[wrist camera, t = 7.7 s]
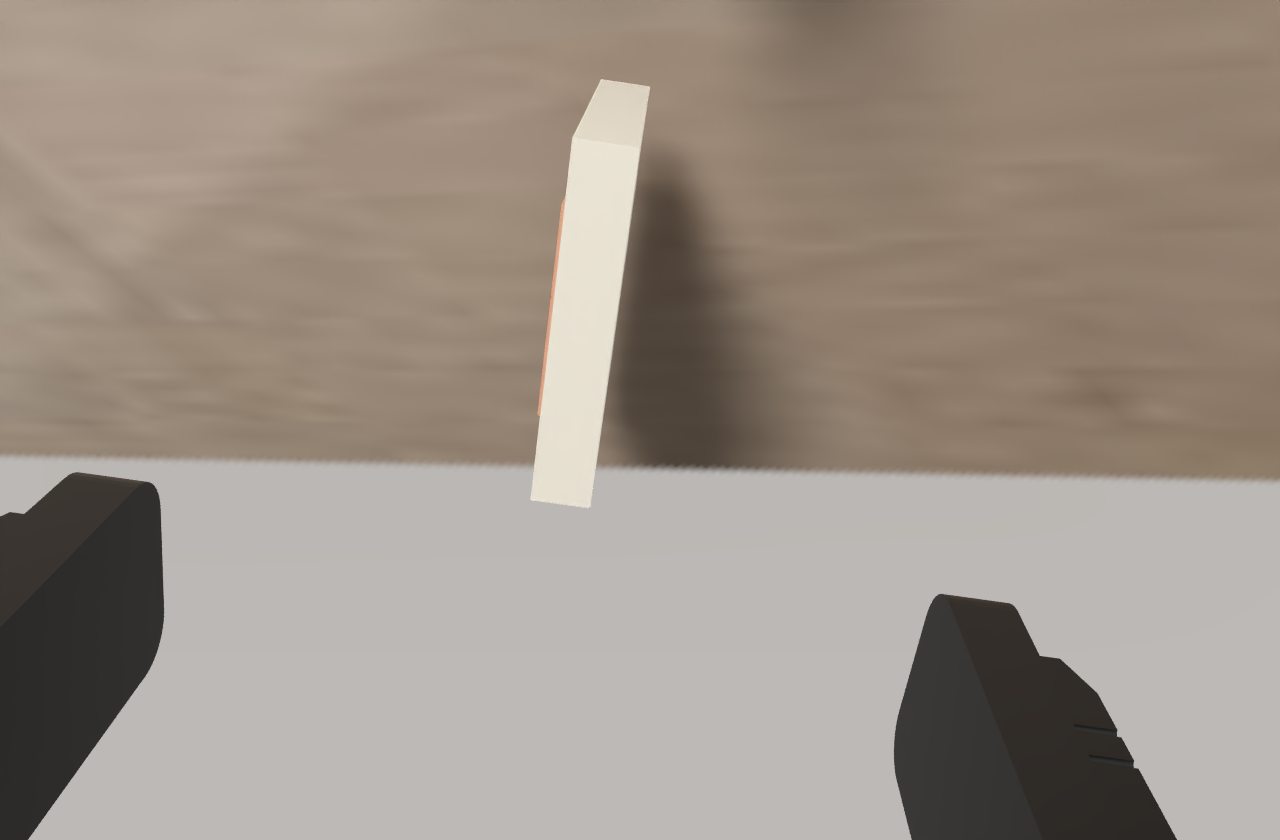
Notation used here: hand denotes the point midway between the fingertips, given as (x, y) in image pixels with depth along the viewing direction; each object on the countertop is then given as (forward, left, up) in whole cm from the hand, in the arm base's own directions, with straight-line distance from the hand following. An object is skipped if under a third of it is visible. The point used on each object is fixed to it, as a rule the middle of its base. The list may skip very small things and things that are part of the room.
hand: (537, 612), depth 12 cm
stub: (0, -1, -14) cm, 14 cm away
